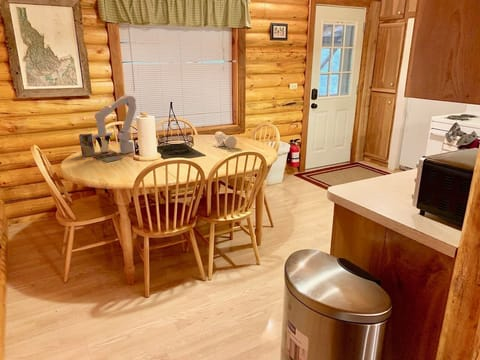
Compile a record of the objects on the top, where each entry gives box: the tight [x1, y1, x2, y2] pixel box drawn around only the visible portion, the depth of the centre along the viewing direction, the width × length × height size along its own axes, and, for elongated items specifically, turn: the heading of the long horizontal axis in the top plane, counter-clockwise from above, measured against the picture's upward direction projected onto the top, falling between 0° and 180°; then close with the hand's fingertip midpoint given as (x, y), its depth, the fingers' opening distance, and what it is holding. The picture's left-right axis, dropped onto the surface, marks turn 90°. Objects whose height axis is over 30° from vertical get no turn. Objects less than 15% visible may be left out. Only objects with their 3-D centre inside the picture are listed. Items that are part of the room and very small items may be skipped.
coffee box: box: [78, 133, 96, 157], centre depth 279 cm, size 9×6×16 cm
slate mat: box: [100, 156, 123, 163], centre depth 270 cm, size 12×10×1 cm
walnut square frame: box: [92, 149, 119, 160], centre depth 279 cm, size 14×12×2 cm
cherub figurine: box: [212, 131, 238, 150], centre depth 301 cm, size 13×12×20 cm
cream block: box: [99, 139, 110, 152], centre depth 277 cm, size 4×4×8 cm
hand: (104, 146), depth 277 cm, fingers closed on cream block, 4 cm apart
